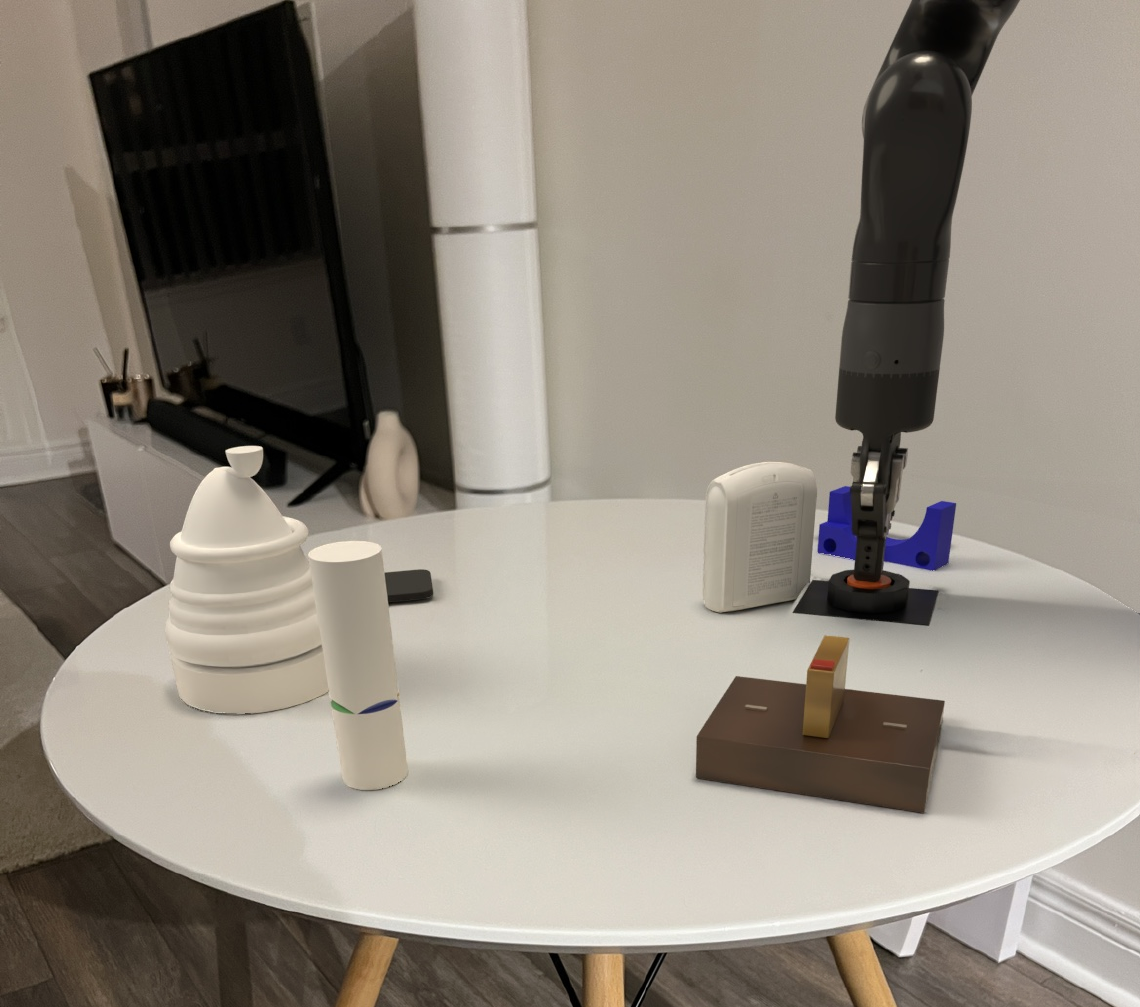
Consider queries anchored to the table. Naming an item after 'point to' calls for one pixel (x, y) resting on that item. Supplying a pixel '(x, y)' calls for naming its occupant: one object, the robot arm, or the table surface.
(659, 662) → the table surface
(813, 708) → the lock knob
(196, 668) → the honey pot
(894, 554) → the blue u-shaped cradle
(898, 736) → the plate
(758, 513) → the photo printer
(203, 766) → the table surface
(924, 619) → the button block
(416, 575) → the phone
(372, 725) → the tube
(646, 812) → the table surface
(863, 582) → the button
